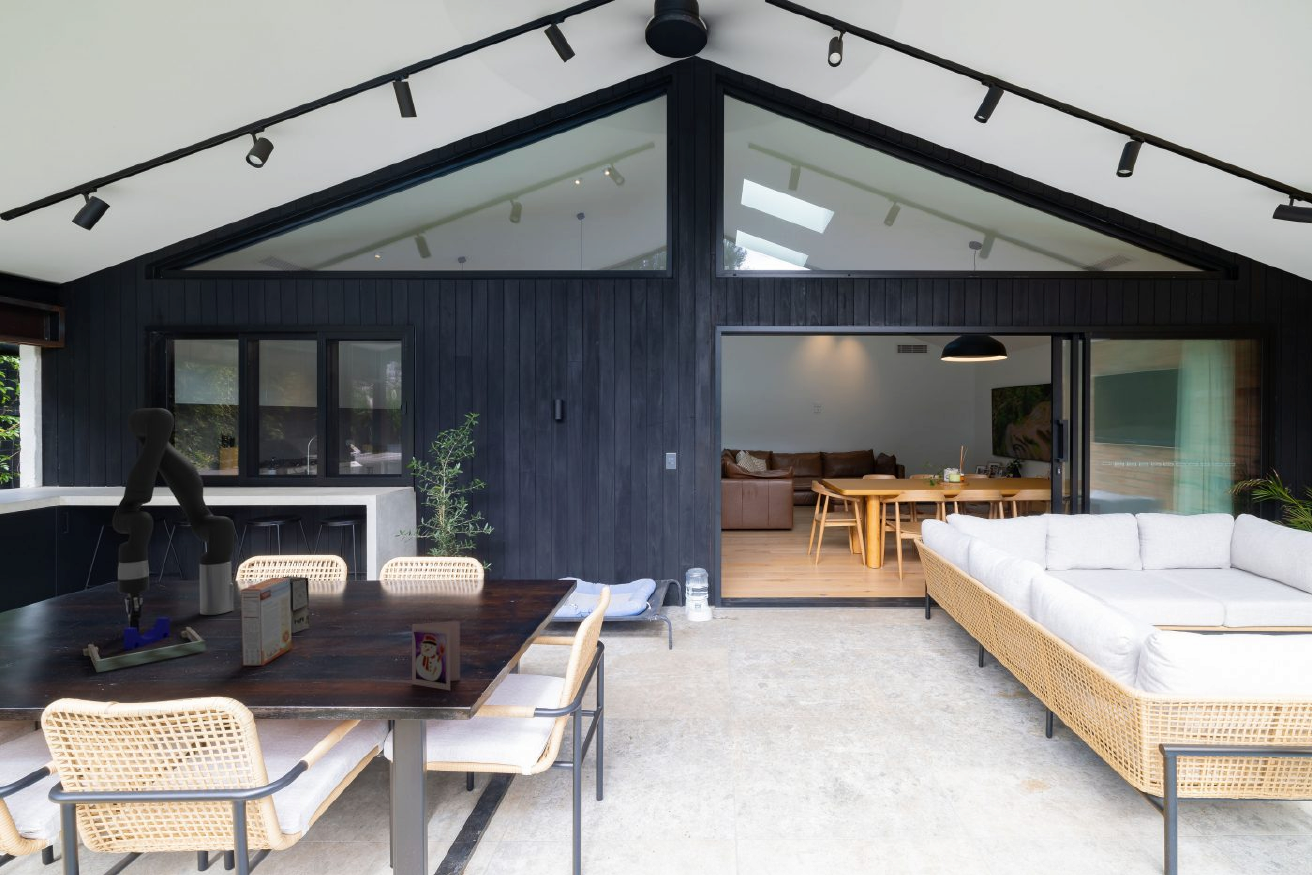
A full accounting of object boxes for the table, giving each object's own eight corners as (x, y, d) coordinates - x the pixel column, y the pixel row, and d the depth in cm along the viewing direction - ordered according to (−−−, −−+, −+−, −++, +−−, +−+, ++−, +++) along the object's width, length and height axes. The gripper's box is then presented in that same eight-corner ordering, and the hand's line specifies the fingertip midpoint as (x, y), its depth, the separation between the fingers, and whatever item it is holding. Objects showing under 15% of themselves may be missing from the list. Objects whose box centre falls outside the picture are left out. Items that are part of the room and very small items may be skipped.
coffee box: (310, 627, 216) (309, 577, 215) (293, 633, 210) (292, 581, 209) (288, 625, 219) (287, 575, 218) (271, 630, 213) (270, 579, 212)
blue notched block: (156, 636, 208) (156, 616, 207) (169, 637, 207) (169, 617, 207) (119, 648, 196) (119, 628, 196) (132, 649, 195) (132, 629, 195)
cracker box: (271, 649, 195) (271, 577, 195) (292, 649, 195) (291, 577, 195) (240, 666, 181) (239, 588, 181) (262, 666, 181) (261, 588, 181)
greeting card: (409, 685, 168) (409, 625, 168) (429, 674, 175) (429, 617, 175) (447, 691, 164) (447, 630, 164) (466, 680, 171) (466, 621, 171)
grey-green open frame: (192, 633, 210) (192, 623, 210) (209, 650, 194) (209, 639, 194) (83, 653, 191) (83, 642, 191) (92, 673, 176) (91, 661, 176)
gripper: (152, 577, 206) (152, 633, 206) (145, 570, 215) (146, 624, 215) (120, 581, 200) (121, 639, 201) (115, 574, 210) (116, 629, 210)
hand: (134, 631), depth 208 cm, fingers closed
